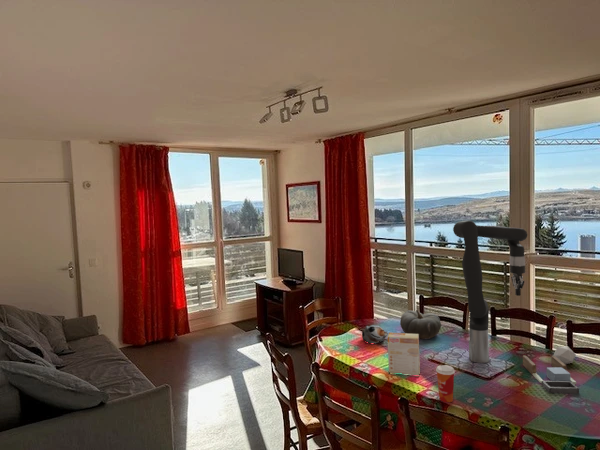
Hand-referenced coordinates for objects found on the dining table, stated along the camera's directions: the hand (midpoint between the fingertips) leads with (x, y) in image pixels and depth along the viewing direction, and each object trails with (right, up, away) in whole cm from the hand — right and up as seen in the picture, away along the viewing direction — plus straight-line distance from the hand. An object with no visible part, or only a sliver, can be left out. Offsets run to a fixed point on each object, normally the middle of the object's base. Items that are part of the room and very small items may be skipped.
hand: (518, 295), depth 221 cm
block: (+1, -34, -33) cm, 47 cm away
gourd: (-43, -33, +36) cm, 65 cm away
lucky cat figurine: (-73, -34, +29) cm, 86 cm away
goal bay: (-1, -34, -33) cm, 47 cm away
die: (+16, -32, -15) cm, 39 cm away
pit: (-4, -35, -43) cm, 55 cm away
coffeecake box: (-67, -36, -18) cm, 79 cm away
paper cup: (-57, -37, -47) cm, 82 cm away
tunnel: (+1, -33, -22) cm, 40 cm away
